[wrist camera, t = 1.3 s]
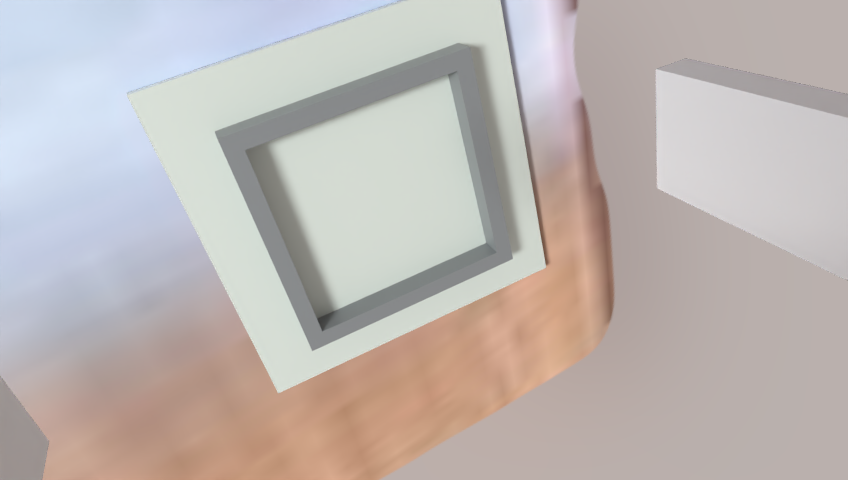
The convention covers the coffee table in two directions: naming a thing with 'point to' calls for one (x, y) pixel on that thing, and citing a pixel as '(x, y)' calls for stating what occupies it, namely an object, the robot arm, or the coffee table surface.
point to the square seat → (354, 177)
